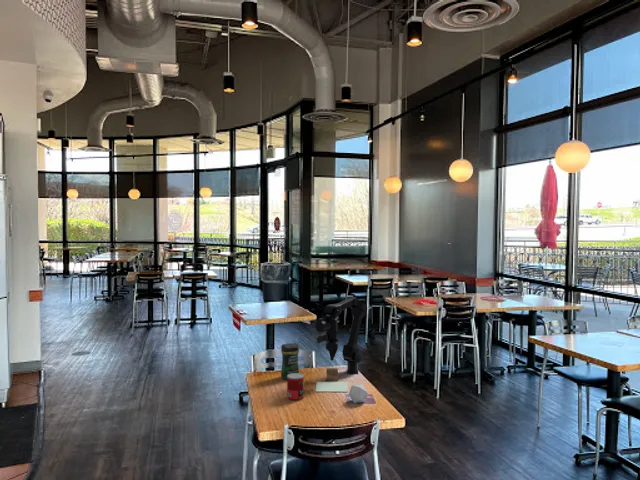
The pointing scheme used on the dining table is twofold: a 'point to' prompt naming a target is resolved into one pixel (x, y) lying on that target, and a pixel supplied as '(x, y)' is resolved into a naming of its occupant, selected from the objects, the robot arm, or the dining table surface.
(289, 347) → the coffee jar
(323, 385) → the mat
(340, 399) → the dining table surface
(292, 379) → the canned food
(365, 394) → the die
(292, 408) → the dining table surface
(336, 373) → the walnut slab
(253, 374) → the dining table surface
